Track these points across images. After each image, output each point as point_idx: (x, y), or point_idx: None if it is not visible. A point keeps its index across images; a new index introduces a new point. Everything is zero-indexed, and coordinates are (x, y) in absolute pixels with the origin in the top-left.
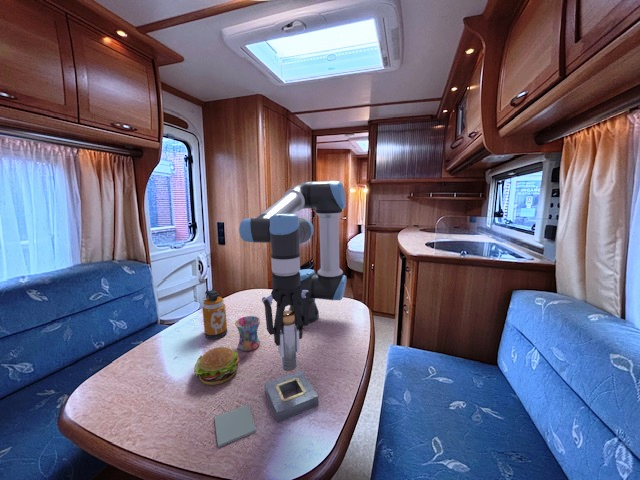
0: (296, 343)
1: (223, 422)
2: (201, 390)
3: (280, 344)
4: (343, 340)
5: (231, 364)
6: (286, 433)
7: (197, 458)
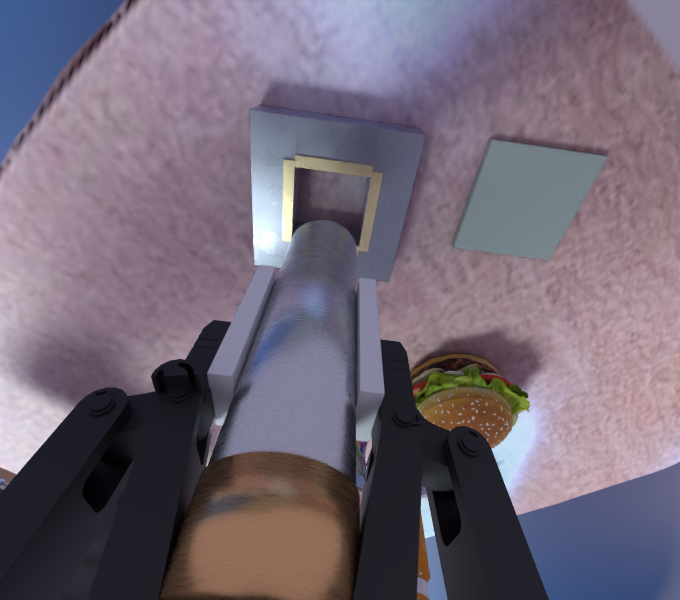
0: (261, 307)
1: (544, 227)
2: (512, 357)
3: (378, 337)
4: (54, 321)
5: (437, 389)
6: (419, 61)
7: (661, 156)
